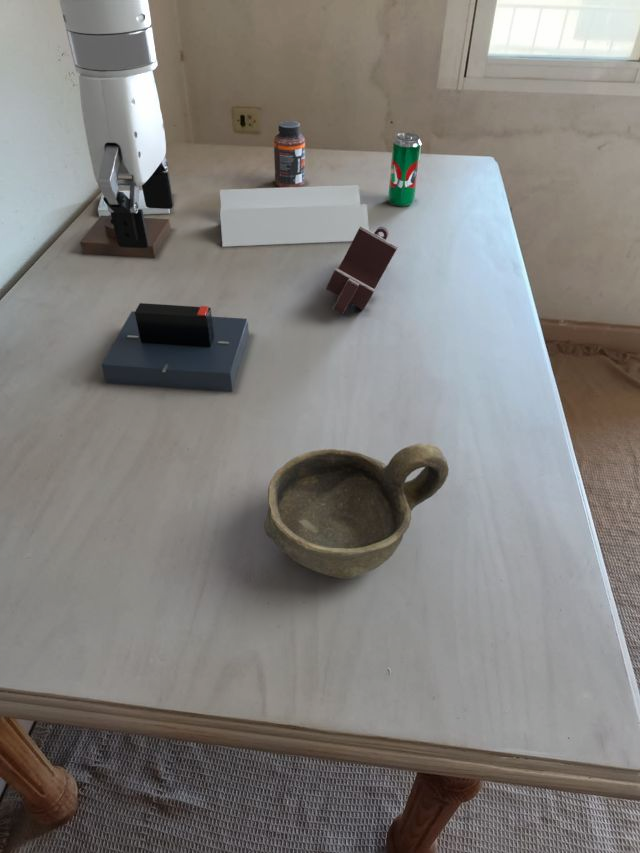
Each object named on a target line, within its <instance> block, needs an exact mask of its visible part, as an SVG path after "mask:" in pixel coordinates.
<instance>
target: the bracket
mask: <svg viewBox="0 0 640 853" xmlns="http://www.w3.org/2000/svg"><path fill="white" fill-rule="evenodd" d="M379 233H382V234H383V236H381V235H380V234H379ZM388 236H389V230H388V229H387V227H384V226H379V227H377V228H376V230H375V231H374V232H372V231H371V230H370V229H369V230H367V229H366V228H364V227H362V226H360V228H359V229H358V231H357V233H356V235H355V237H354V239H353V241H351V243H350V245H349V247H348V248H347V251H346V253H345V254H344V257H343V259H342V261H341V263H340V264H339V266H338V268H337V267H335V268H334V271H333V272H332V274H331V276H330V278H329V281H328V283H327V285H326V287H325V290H326V291H328V292H330V293H332V294H333V295H335V296H337V297H338V298H337V300H336V302H335V304H334V305H333V307H332V310H333V311H334V312H336V313H338V314H340V315H341V316H343V315H344V313H345V311H346V310H347V308H348V306H349V305H350V304H351V305H353V306H355V307H357V308H358V309H360V310H362V311H364V310H365V309H366V307H367V305H368V303H369V301H370V300H371V298H372V296H373V295H374V292H375V290H376V287H377V286H378V284H379V282H380V280H381V278H382V277H383V275H384V273H385V271H386V270H387V268H388V266H389V264H390V262H391V260H392V259H393V257H394V256H395V253H396V252H397V250H398V248H399V246H397V245H396V244H394V243H393V242H390V241H388V240H387V238H388Z"/></svg>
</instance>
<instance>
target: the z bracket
mask: <svg viewBox="0 0 640 853" xmlns="http://www.w3.org/2000/svg"><path fill="white" fill-rule="evenodd" d="M360 193H361V192H360V185H359V184H351V185H350V184H349V185H348V184H347V185H320V186H319V185H317V186H316V185H315V186H301V187H285V188H282V187H261V188H260V187H259V188H230V189H229V188H228V189H227V188H226V189H219V198H220V209H219V214H220V216H219V217H220V230H221V242H222V244H221V246H222V248H230V247H231V248H233V247H253V246H254V247H255V246H275V245H276V246H277V245H298V244H299V245H300V244H302V245H303V244H322V243H323V244H324V243H325V244H326V243H327V244H328V243H347V242H352V241H353V239H354V237H355V235H356V233H357V231H358V229H359V228H360V226H362V227H364V228H366V229H367V230H369V231H370V229H369V228H370V227H369V214H368V204H367V203H366V204H365V203H364V204H363V203H362V204H361V194H360Z"/></svg>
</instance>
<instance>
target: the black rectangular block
mask: <svg viewBox="0 0 640 853" xmlns="http://www.w3.org/2000/svg"><path fill="white" fill-rule="evenodd" d="M134 312H135V317H136V322H137V326H138V331H139V335H140V340H141V343H154V344H169V345H184V346H199V347H211V345H212V342H213V339H214V331H213V323H212V317H213V316H212V308H211V307H209V306H207V305H200V306H191V305H178V304H177V305H176V304H159V303H146V302H145V303H143V302H140V303H139V304H138V306H137V307H136V308H135V311H134Z"/></svg>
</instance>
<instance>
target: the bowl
mask: <svg viewBox="0 0 640 853" xmlns="http://www.w3.org/2000/svg"><path fill="white" fill-rule="evenodd" d="M421 468H423V469H422V470H421V471H420V472H419V473H418V474H417V475H416V476H415V477H414V478H413V479H411V480H407V478H408V477H409V476H410V475H411V474H412V473H414V472H415V471H417V470H418V469H421ZM448 475H449V464H448V461H447V459H446V457H445V456H444V454H443V452H442V450H441V449H440V448H439V447H437V446H436V445H435V444H432V443H424V442H423V443H422V442H421V443H420V442H419V443H415V444H411V445H409V446H407V447H404V448H402V449H400V450H399V451H398V452H396V453H395V454H394V455H393V456H392V457H391V458H390V460H389V462H388V463H387V464H386V463H384V462H382V461H380V460H379V459H376V458H374V457H371V456H368V455H365V454H362V453H361V452H358V451H352V450H347V449H337V448H324V449H318V450H312V451H307V452H304V453H302V454H298V455H297V456H294V457H293V458H291V459H290V460H288V461H287V462H286V463H285V464H284V465H283V466H281V467H280V468H279V469H277V470H276V472H275V473H274V474H273V476H272V477H271V480H270V482H269V485H268V489H267V504H268V508H267V514H266V518H265V522H264V533H265V534H266V536H267V537H268V538H269V539H270V540H272V542H273V543H274V544H275V545H276V547H277V548H278V549H280V550H281V552H282V553H284V554H285V555H286V556H287V557H288V558H290V559H291V560H292V561H293V562H296V563H298V564H299V565H302V566H303V567H305V568H307V569H309V570H311V571H314V572H316V573H319V574H322V575H326V576H330V577H334V578H338V579H342V580H343V579H344V580H353V579H357V578H360V577H362V576H364V575H365V574H367V573H368V572H371V571H373V570H375V569H376V568H379V567H380V566H382V565H383V564H384V563H386V562H387V561H388V560H389V559H390V558H391V557H392V556H393V555H394V553H395V552H396V551H397V549H398V547H399V546H400V545H401V542H402V540H403V538H404V534H405V533H406V532H407V531H408V529H409V527H410V524H411V521H412V511H413V510H414V508H415V507H417V506H418V505H420V504H422V503H424V502H425V501H426V500H428V499H429V498H431V497H433V496H434V495H435V494H436V493H437V492H438V491H439V490H441V488H442V487H443V486H444V484H445V482H446V480H447V478H448Z"/></svg>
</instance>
